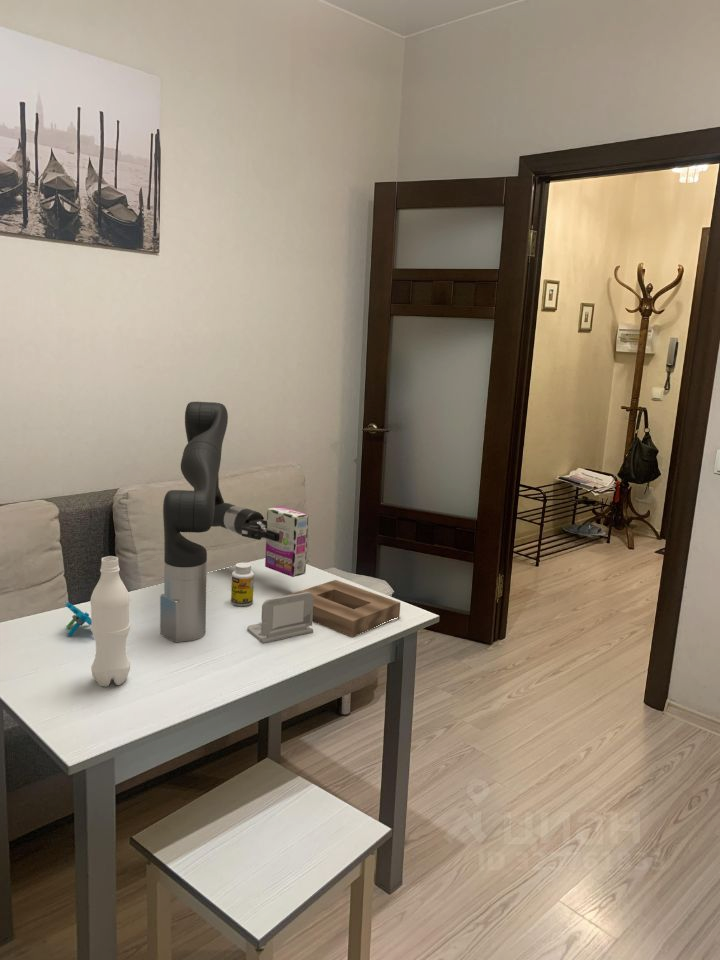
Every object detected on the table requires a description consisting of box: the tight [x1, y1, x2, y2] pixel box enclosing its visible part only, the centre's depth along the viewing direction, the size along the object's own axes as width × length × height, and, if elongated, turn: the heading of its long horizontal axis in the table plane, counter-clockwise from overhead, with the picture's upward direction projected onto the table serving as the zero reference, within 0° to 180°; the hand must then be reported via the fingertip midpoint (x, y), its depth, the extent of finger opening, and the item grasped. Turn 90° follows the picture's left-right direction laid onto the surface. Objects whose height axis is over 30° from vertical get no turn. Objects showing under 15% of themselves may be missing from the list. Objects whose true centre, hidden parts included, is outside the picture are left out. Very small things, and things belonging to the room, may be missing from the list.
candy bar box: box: [264, 506, 309, 578], centre depth 195 cm, size 11×5×16 cm, turn 49°
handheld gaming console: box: [246, 592, 314, 644], centre depth 171 cm, size 13×9×10 cm
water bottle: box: [89, 555, 131, 688], centre depth 142 cm, size 7×7×25 cm
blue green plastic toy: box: [65, 601, 91, 637], centre depth 164 cm, size 11×6×10 cm
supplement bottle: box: [230, 562, 255, 607], centre depth 187 cm, size 6×6×10 cm
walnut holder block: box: [286, 579, 401, 638], centre depth 184 cm, size 18×22×4 cm
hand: (285, 535), depth 195 cm, fingers closed on candy bar box, 5 cm apart
